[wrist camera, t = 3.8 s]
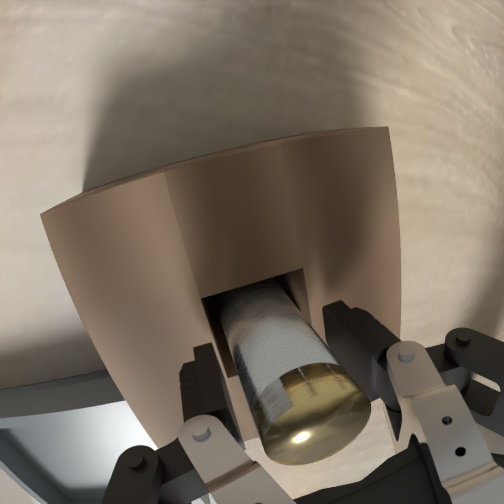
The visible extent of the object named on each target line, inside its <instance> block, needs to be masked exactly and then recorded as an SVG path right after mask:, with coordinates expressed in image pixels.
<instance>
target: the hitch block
mask: <svg viewBox="0 0 504 504" xmlns="http://www.w3.org/2000/svg"><path fill="white" fill-rule="evenodd" d="M40 216H41V219H42V222H43V225H44V228H45V231H46V234H47V237H48V240H49V243H50V246H51V248H52V251H53V254H54V257H55V259H56V262H57V264H58V267H59V269H60V272H61V274H62V277H63V279H64V282H65V284H66V287H67V289H68V291H69V294H70V296H71V298H72V300H73V303H74V305H75V307H76V309H77V311H78V314H79V316H80V318H81V320H82V322H83V324H84V326H85V328H86V330H87V332H88V334H89V336H90V338H91V340H92V342H93V344H94V346H95V348H96V350H97V352H98V354H99V355H100V357H101V359H102V361H103V363H104V365H105V366H106V368H107V370H108V372H109V374H110V375H111V377H112V379H113V380H114V382H115V384H116V386H117V387H118V389H119V391H120V392H121V394H122V396H123V397H124V399H125V400H126V402H127V404H128V405H129V407H130V408H131V410H132V411H133V413H134V415H135V416H136V418H137V419H138V421H139V422H140V424H141V425H142V427H143V428H144V429H145V431H146V432H147V434H148V435H149V437H150V438H151V440H152V441H153V442H154V444H155V445H156V446H157V448H158V449H159V448H161V447H163V446H165V445H167V444H169V443H171V442H172V441H174V440H175V439H176V438H177V437H178V432H179V429H180V427H181V426H182V425H183V424H184V420H183V411H182V401H181V391H180V380H179V372H180V370H181V368H182V366H183V363H187V362H191V361H194V360H195V359H194V352H193V347H196V346H199V345H203V344H206V343H210V342H212V345H213V347H214V350H215V353H216V356H217V358H218V361H219V364H220V367H221V369H222V372H223V375H224V378H225V381H226V384H227V388H228V391H229V395H230V398H231V402H232V405H233V409H234V412H235V416H236V419H237V422H238V426H239V429H240V432H241V436H242V439H243V442H244V441H247V440H250V439H254V438H257V437H259V434H258V431H257V428H256V426H255V423H254V420H253V417H252V414H251V411H250V409H249V406H248V403H247V400H246V397H245V394H244V391H243V388H242V385H241V382H240V379H239V376H238V373H237V370H236V367H235V364H234V361H233V358H232V355H231V352H230V349H229V345H228V342H227V339H226V336H225V333H224V330H223V326H222V323H221V320H220V317H219V313H218V314H215V315H210V312H209V309H208V306H207V303H206V300H205V297H208V296H211V295H215V294H218V293H221V292H225V291H228V290H231V289H235V288H238V287H241V286H245V285H248V284H251V283H255V282H258V281H261V280H265V279H268V278H271V277H273V278H274V279H275V280H276V282H277V283H278V284H279V285H280V287H281V288H282V289H283V291H284V292H285V293H286V294H287V296H288V297H289V298H290V299H291V301H292V302H293V303H294V304H295V306H296V307H297V308H298V309H299V311H300V312H301V313H302V315H303V316H304V317H305V318H306V320H307V321H308V322H309V323H310V325H311V326H312V327H313V328H314V330H315V331H316V332H317V334H318V335H319V336H320V337H321V339H322V340H323V341H324V342H325V344H326V345H327V342H326V338H325V329H324V321H323V313H322V308H323V306H325V305H327V304H330V303H333V302H336V301H338V300H342V301H343V302H344V303H345V304H346V305H347V306H348V307H350V308H351V309H352V308H355V307H358V308H360V309H363V310H366V311H368V312H369V313H370V314H371V315H372V316H374V317H375V319H377V320H378V321H379V322H380V323H381V324H383V325H384V326H385V327H386V328H387V329H388V330H390V331H391V332H392V333H393V334H394V335H395V336H396V337H398V338H399V339H400V326H401V249H400V228H399V213H398V201H397V190H396V181H395V172H394V164H393V156H392V149H391V142H390V135H389V129H388V127H366V128H350V129H336V130H325V131H319V132H313V133H307V134H301V135H296V136H290V137H285V138H280V139H275V140H270V141H265V142H260V143H255V144H251V145H246V146H241V147H237V148H233V149H228V150H224V151H220V152H216V153H212V154H208V155H204V156H200V157H196V158H192V159H188V160H185V161H181V162H177V163H174V164H170V165H167V166H163V167H160V168H156V169H153V170H150V171H146V172H143V173H140V174H136V175H133V176H130V177H127V178H124V179H121V180H118V181H114V182H111V183H108V184H106V185H103V186H100V187H97V188H94V189H91V190H88V191H85V192H83V193H80V194H78V195H76V196H74V197H72V198H70V199H68V200H66V201H64V202H62V203H60V204H58V205H57V206H55V207H53V208H51V209H49V210H47V211H45V212H43V213H41V214H40ZM327 346H328V345H327Z"/></svg>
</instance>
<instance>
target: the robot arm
mask: <svg viewBox="0 0 504 504" xmlns="http://www.w3.org/2000/svg"><path fill="white" fill-rule="evenodd" d="M322 313H323V321H324V329H325V338H326V342H327V345H328V347H329V349H330V350H331V351H332V353H333V354H334V355H335V356H336V358H337V359H338V360H339V361H340V363H341V364H342V365H343V366H344V368H345V369H346V370H347V372H348V373H349V374H350V375H351V377H352V378H353V379H354V380H355V382H356V383H357V384H358V385H359V387H360V388H361V389H362V391H363V392H364V393H365V394H366V396H367V397H368V398H369V400H370V402H372V401H374V400H376V399H378V398H381V399H382V400H383V411H384V414H385V418H386V421H387V424H388V428H389V431H390V435H391V438H392V442H393V445H394V450H395V455H394V456H392V457H390V458H388V459H387V460H386V461H385V462H384V463H382V464H381V465H380V466H379V467H378V468H376V469H375V470H374V471H373V472H371V473H370V474H369V475H368V476H366V477H365V478H364V479H363V480H361V481H359V482H355V483H351V484H346V485H341V486H336V487H331V488H326V489H321V490H318V491H316V492H313V493H311V494H308V495H305V496H302V497H299V498H297V499H294V500H293V499H292V498H291V497H290V496H289V495H288V494H287V493H286V492H285V491H284V490H283V489H282V488H281V487H280V486H279V485H278V484H277V483H276V481H275V480H274V479H273V478H272V477H271V476H270V475H269V474H268V473H267V472H266V470H265V469H264V468H263V467H262V466H261V465H260V464H259V463H258V462H257V461H252V460H251V458H250V457H249V456H248V455H247V454H246V453H245V451H244V450H246V449H245V445H244V442H243V439H242V436H241V432H240V429H239V426H238V422H237V419H236V416H235V412H234V409H233V405H232V402H231V398H230V395H229V391H228V388H227V384H226V381H225V378H224V375H223V372H222V369H221V367H220V364H219V361H218V358H217V356H216V353H215V350H214V347H213V345H212V342H210V343H206V344H203V345H199V346H196V347H193V352H194V359H195V360H194V361H191V362H187V363H183V366H182V368H181V370H180V372H179V380H180V391H181V401H182V411H183V420H184V424H183V425H182V426H181V427H180V429H179V432H178V437H177V438H176V439H175V440H174V441H172V442H171V443H169V444H167V445H165V446H163V447H161V448H159V449H157V450H154V449H152V448H151V447H149V446H145V445H137V446H133V447H130V448H128V449H126V450H125V451H124V452H122V453H121V455H120V456H119V457H118V459H117V462H116V464H115V467H114V470H113V472H112V475H111V478H110V480H109V483H108V486H107V489H106V491H105V494H104V497H103V500H102V502H101V504H191V502H192V501H194V500H196V499H198V498H200V497H202V496H204V495H206V494H208V493H210V494H211V495H212V497H213V498H214V500H215V501H216V503H217V504H504V342H502V341H500V340H497V339H495V338H492V337H490V336H487V335H485V334H482V333H480V332H477V331H474V330H472V329H469V328H456V329H453V330H451V331H450V332H448V334H447V335H446V337H445V343H444V344H440V345H436V346H432V347H428V348H424V347H423V346H422V345H421V344H419V343H417V342H414V341H401V340H400V339H399V338H398V337H396V336H395V335H394V334H393V333H392V332H391V331H390V330H388V329H387V328H386V327H385V326H384V325H383V324H381V323H380V322H379V321H378V320H377V319H375V317H374V316H372V315H371V314H370V313H369V312H368V311H366V310H363V309H360V308H358V307H355V308H352V309H351V308H350V307H348V306H347V305H346V304H345V303H344V302H343V301H342V300H338V301H336V302H333V303H330V304H327V305H325V306H323V308H322ZM473 373H476V374H478V375H480V376H483V377H485V378H487V379H489V380H491V381H493V382H495V383H497V384H498V385H499V387H500V390H501V392H499V391H496V390H494V389H492V388H490V387H488V386H486V385H484V384H481V383H479V382H477V381H475V380H473V379H472V376H473Z"/></svg>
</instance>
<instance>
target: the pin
mask: <svg viewBox="0 0 504 504" xmlns="http://www.w3.org/2000/svg"><path fill="white" fill-rule="evenodd" d="M213 297H214V300H215V304H216V307H217V310H218V313H219V317H220V320H221V323H222V326H223V330H224V333H225V336H226V339H227V342H228V345H229V349H230V352H231V355H232V358H233V361H234V364H235V367H236V370H237V373H238V376H239V379H240V382H241V385H242V388H243V391H244V394H245V397H246V400H247V403H248V406H249V409H250V411H251V414H252V417H253V420H254V423H255V426H256V428H257V431H258V434H259V437H260V440H261V442H262V445H263V448H264V451H265V453H266V455H267V456H268V457H269V458H270V459H271V460H273V461H275V462H277V463H280V464H284V465H304V464H309V463H313V462H316V461H319V460H322V459H325V458H327V457H329V456H331V455H333V454H335V453H337V452H338V451H340V450H342V449H343V448H344V447H346V446H347V445H348V444H350V443H351V442H352V441H353V440H354V439H355V438H356V437H357V436H358V435H359V434H360V433H361V431H362V430H363V429H364V427H365V425H366V424H367V422H368V420H369V417H370V414H371V403H370V400H369V398H368V397H367V396H366V394H365V393H364V392H363V391H362V389H361V388H360V387H359V385H358V384H357V383H356V382H355V380H354V379H353V378H352V377H351V375H350V374H349V373H348V372H347V370H346V369H345V368H344V366H343V365H342V364H341V363H340V361H339V360H338V359H337V358H336V356H335V355H334V354H333V353H332V351H331V350H330V349H329V347H328V346H327V345H326V344H325V342H324V341H323V340H322V339H321V337H320V336H319V335H318V334H317V332H316V331H315V330H314V328H313V327H312V326H311V325H310V323H309V322H308V321H307V320H306V318H305V317H304V316H303V315H302V313H301V312H300V311H299V309H298V308H297V307H296V306H295V304H294V303H293V302H292V301H291V299H290V298H289V297H288V296H287V294H286V293H285V292H284V291H283V289H282V288H281V287H280V285H279V284H278V283H277V282H276V280H275V279H274V278H273V277H271V278H268V279H265V280H261V281H258V282H255V283H251V284H248V285H245V286H241V287H238V288H235V289H231V290H228V291H225V292H221V293H218V294H215V295H213Z"/></svg>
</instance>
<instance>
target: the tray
mask: <svg viewBox="0 0 504 504" xmlns="http://www.w3.org/2000/svg"><path fill="white" fill-rule="evenodd" d="M137 445H145V446H149V447H151V448H152V449H154V450H157V449H158V448H157V446H156V445H155V444H154V442H153V441H152V440H151V438H150V437H149V435H148V434H147V432H146V431H145V429H144V428H143V427H142V425H141V424H140V422H139V421H138V419H137V418H136V416H135V415H134V413H133V411H132V410H131V408H130V407H129V405H128V404H127V402H126V400H125V399H124V397H123V396H122V394H121V392H120V391H119V389H118V387H117V386H116V384H115V382H114V380H113V379H112V377H111V375H110V374H109V372H108V370H103V371H99V372H94V373H90V374H85V375H80V376H75V377H70V378H65V379H60V380H55V381H50V382H44V383H39V384H33V385H27V386H21V387H15V388H8V389H1V390H0V468H2V469H3V470H4V471H5V472H6V473H7V474H8V475H9V476H10V477H11V478H12V479H13V480H14V481H15V482H16V483H17V484H18V485H20V486H21V487H22V488H23V489H24V490H25V491H26V492H28V493H29V494H30V495H31V496H32V497H33V498H35V499H36V500H37V501H38V502H40V503H41V504H101V502H102V500H103V497H104V494H105V491H106V489H107V486H108V483H109V480H110V478H111V475H112V472H113V470H114V467H115V464H116V462H117V459H118V457H119V456H120V455H121V453H122V452H124V451H125V450H126V449H128V448H130V447H133V446H137ZM191 504H210V499H209V495H208V494H206V495H204V496H202V497H200V498H198V499H196V500H194V501H192V502H191Z"/></svg>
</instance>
